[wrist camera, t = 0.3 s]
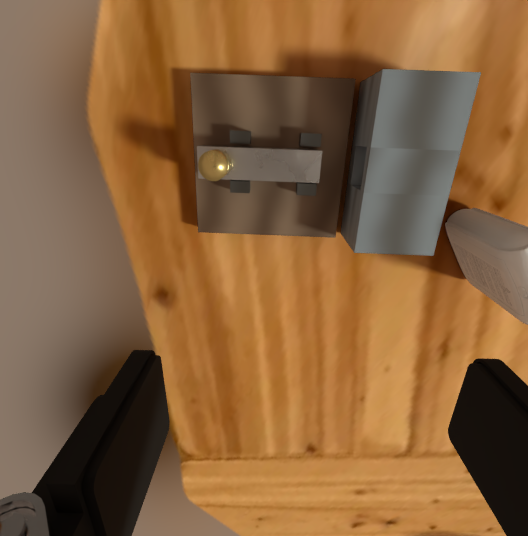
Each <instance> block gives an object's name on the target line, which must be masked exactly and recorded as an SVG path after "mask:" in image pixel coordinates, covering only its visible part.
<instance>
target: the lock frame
mask: <svg viewBox="0 0 528 536" xmlns="http://www.w3.org/2000/svg"><path fill="white" fill-rule="evenodd" d="M480 74H481V72H452V71H424V70H395V69H382V70H380V71H379V72H377V73H375V74H374V75H372V76H370V77H369V78H367V79H365V80H364V81H362V82H361V83H360V91H359V98H358V106H357V113H356V121H355V128H354V136H353V143H352V151H351V158H350V166H349V173H348V181H347V188H346V196H345V203H344V211H343V218H342V226H341V234H342V236H343V237H344V239H345V240H346V241H347V243H348V244H349V246H350V247H351V249H352V250H353V251H354V253H377V254H402V255H427V256H433V255H434V251H435V247H436V243H437V240H438V236H439V232H440V228H441V224H442V220H443V217H444V213H445V209H446V205H447V201H448V197H449V194H450V190H451V186H452V182H453V178H454V174H455V170H456V167H457V163H458V159H459V155H460V151H461V147H462V144H463V140H464V136H465V132H466V128H467V124H468V121H469V117H470V113H471V109H472V105H473V101H474V98H475V94H476V90H477V86H478V82H479V78H480ZM190 75H191V95H192V115H193V136H194V156H195V176H196V197H197V217H198V232H209V233H234V234H260V235H285V236H310V237H336V229H337V221H338V213H339V205H340V197H341V190H342V182H343V174H344V166H345V158H346V150H347V143H348V135H349V127H350V119H351V111H352V104H353V96H354V88H355V80H356V79H349V78H321V77H293V76H265V75H237V74H209V73H190ZM201 145H211V146H238V147H265V148H292V149H318V150H321V151H322V159H321V169H320V179H319V183H304V182H278V181H251V180H225V179H220V180H218V181H209V180H207V179H199V178H198V162H197V146H201Z"/></svg>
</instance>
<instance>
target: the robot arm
mask: <svg viewBox="0 0 528 536" xmlns="http://www.w3.org/2000/svg"><path fill="white" fill-rule="evenodd" d="M168 430H169V414H168V406H167V399H166V392H165V385H164V377H163V370H162V363H161V357H160V356H158V355H155V352H154V351H152V350H134V351H133V352H132V353H131V354H130V356H129V357H128V359H127V360H126V362H125V363H124V365H123V367H122V368H121V370H120V371H119V373H118V374H117V376H116V377H115V379H114V380H113V382H112V383H111V385H110V386H109V388H108V389H107V391H106V393H105V394H104V395H100V396H98V397H97V398H96V399H95V400H94V402H93V403H92V404H91V406H90V407H89V409H88V410H87V412H86V413H85V415H84V417H83V418H82V419H81V421H80V422H79V424H78V425H77V427H76V428H75V430H74V431H73V433H72V434H71V436H70V437H69V438H68V440H67V441H66V443H65V445H64V446H63V448H62V449H61V450H60V452H59V453H58V455H57V456H56V458H55V459H54V461H53V462H52V464H51V465H50V467H49V468H48V470H47V471H46V472H45V474H44V476H43V477H42V479H41V480H40V481H39V483H38V484H37V486H36V488H35V489H34V490H33V492H32V493H26V492H23V493H18V494H13V495H10V496H8V497H5V498H3V499H1V500H0V536H132V533H133V530H134V527H135V524H136V521H137V518H138V516H139V513H140V510H141V507H142V504H143V502H144V499H145V496H146V493H147V490H148V488H149V485H150V482H151V479H152V476H153V473H154V470H155V468H156V465H157V462H158V459H159V456H160V453H161V451H162V448H163V445H164V442H165V439H166V436H167V434H168ZM448 434H449V438H450V440H451V442H452V444H453V446H454V448H455V449H456V451H457V453H458V454H459V456H460V458H461V459H462V461H463V463H464V464H465V466H466V468H467V470H468V471H469V473H470V475H471V476H472V478H473V480H474V481H475V483H476V485H477V486H478V488H479V490H480V491H481V493H482V495H483V497H484V498H485V500H486V502H487V503H488V505H489V507H490V508H491V510H492V512H493V513H494V515H495V517H496V518H497V520H498V522H499V524H500V525H501V527H502V529H503V530H504V532H505V534H506V535H507V536H528V385H526V384H525V383H524V382H523V381H522V380H521V379H520V378H519V377H518V376H517V375H516V374H515V373H514V372H513V371H512V370H511V369H510V368H509V367H508V366H507V365H506V364H505V363H504V362H502V361H501V360H499V359H476V360H475V361H474V362H473V363H472V364H470V365H469V366H468V369H467V372H466V375H465V378H464V381H463V384H462V387H461V390H460V393H459V396H458V400H457V403H456V406H455V409H454V412H453V415H452V418H451V421H450V424H449V428H448Z"/></svg>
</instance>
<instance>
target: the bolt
mask: <svg viewBox="0 0 528 536" xmlns="http://www.w3.org/2000/svg"><path fill="white" fill-rule="evenodd" d="M321 159H322V151H321V150H318V149H292V148H265V147H238V146H211V145H201V146H197V162H198V178H199V179H207V180H209V181H218V180H220V179H225V180H251V181H278V182H304V183H319V179H320V169H321Z"/></svg>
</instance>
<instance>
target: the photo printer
mask: <svg viewBox="0 0 528 536" xmlns="http://www.w3.org/2000/svg"><path fill="white" fill-rule="evenodd" d="M445 227H446V232H447V235H448V238H449V240H450V243H451V246H452V248H453V251H454V253H455V256H456V258H457V260H458V263H459V265H460V268H461V270H462V272H463V274H464V276H465V277H466V279H467V280H468V281H469V282H470V283H471V284H472V285H473V286H474V287H476V288H477V289H478V290H480V291H481V292H482V293H484V294H485V295H486V296H488V297H489V298H490V299H492V300H493V301H494V302H496V303H497V304H499V305H500V306H501V307H503V308H504V309H505V310H506V311H508V312H509V313H510V314H512V315H513V316H514V317H516V318H517V319H518V320H520V321H521V322H523V323H525V324H527V325H528V227H526V226H524V225H521V224H518V223H516V222H513V221H510V220H508V219H505V218H502V217H499V216H497V215H494V214H491V213H489V212H486V211H483V210H480V209H477V208H472V209H461V210H458V211H456V212H455V213H453V214H452V215H451V216H450V217H449V218H448V220H447V222H446V223H445Z"/></svg>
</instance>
